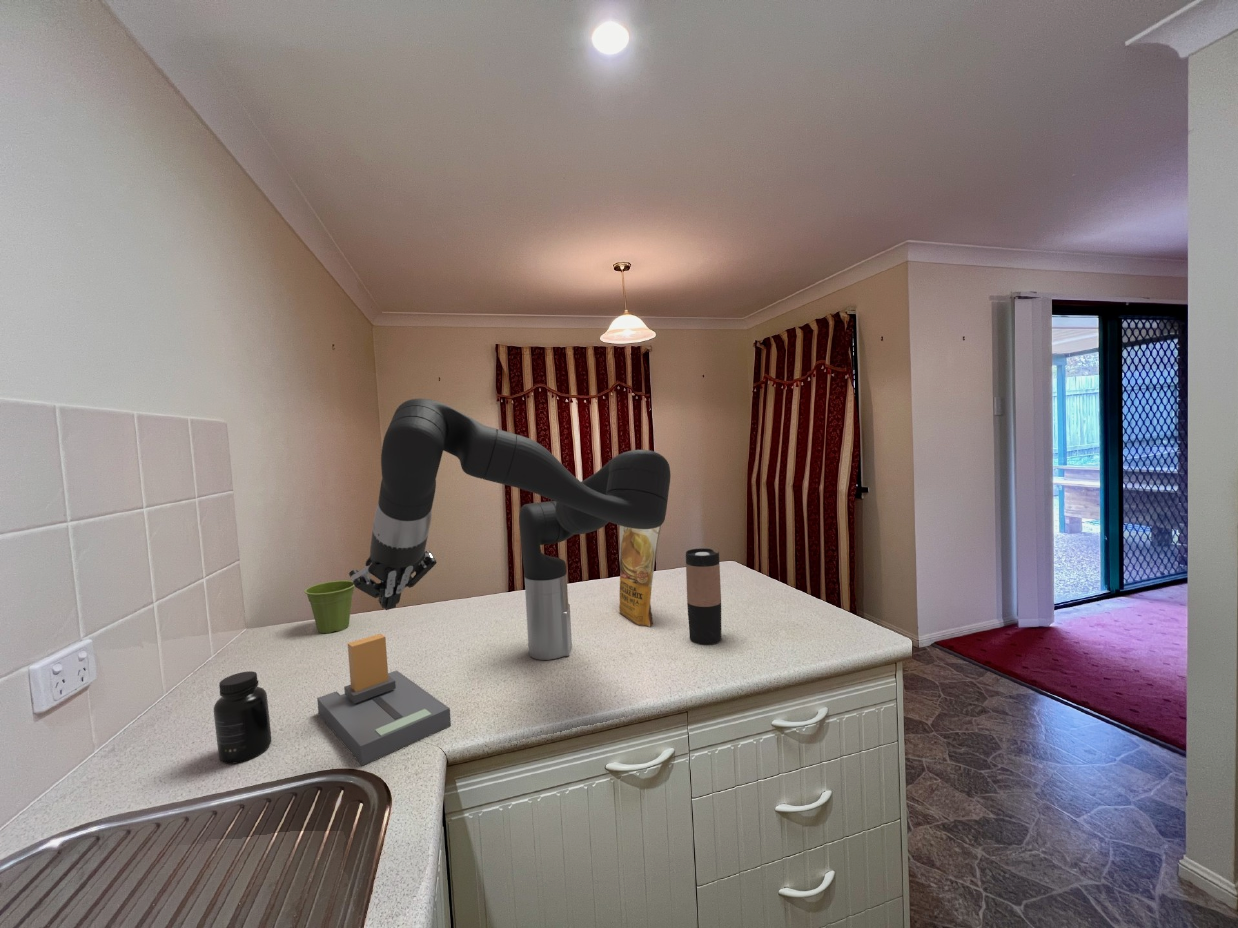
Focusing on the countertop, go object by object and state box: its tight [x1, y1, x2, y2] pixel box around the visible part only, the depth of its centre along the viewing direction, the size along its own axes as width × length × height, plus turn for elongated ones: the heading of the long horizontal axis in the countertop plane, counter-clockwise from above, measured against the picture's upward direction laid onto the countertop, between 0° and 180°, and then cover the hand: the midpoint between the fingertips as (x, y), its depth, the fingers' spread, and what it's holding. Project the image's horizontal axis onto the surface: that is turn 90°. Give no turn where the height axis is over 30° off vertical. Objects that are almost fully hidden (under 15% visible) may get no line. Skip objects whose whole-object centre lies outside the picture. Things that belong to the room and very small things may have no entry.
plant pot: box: [303, 579, 355, 634], centre depth 136 cm, size 12×12×11 cm
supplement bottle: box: [213, 670, 272, 765], centre depth 81 cm, size 7×7×12 cm
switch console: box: [316, 669, 452, 767], centre depth 89 cm, size 22×14×3 cm, turn 45°
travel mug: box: [685, 547, 722, 646], centre depth 117 cm, size 8×8×20 cm
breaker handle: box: [344, 633, 396, 704], centre depth 92 cm, size 5×7×9 cm
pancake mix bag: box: [618, 525, 662, 627], centre depth 133 cm, size 7×19×28 cm, turn 25°
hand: (388, 604), depth 84 cm, fingers closed
